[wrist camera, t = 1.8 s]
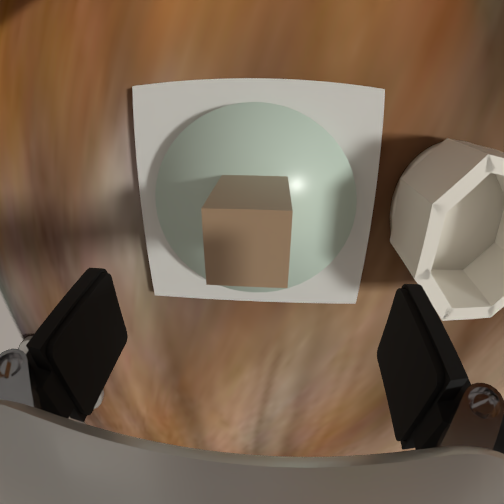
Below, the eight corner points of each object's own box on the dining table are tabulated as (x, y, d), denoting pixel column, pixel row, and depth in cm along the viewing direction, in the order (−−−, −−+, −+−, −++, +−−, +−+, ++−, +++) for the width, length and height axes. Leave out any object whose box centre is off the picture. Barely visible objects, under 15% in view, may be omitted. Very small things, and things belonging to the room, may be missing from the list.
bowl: (484, 274, 23) (517, 315, 18) (377, 273, 24) (400, 322, 18) (515, 153, 18) (563, 176, 13) (400, 128, 19) (441, 143, 13)
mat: (354, 299, 25) (355, 303, 24) (157, 290, 26) (154, 295, 25) (381, 89, 18) (384, 89, 17) (136, 86, 18) (132, 86, 18)
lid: (340, 287, 24) (357, 353, 18) (170, 280, 25) (140, 341, 18) (361, 108, 18) (402, 117, 12) (154, 105, 19) (101, 115, 12)
